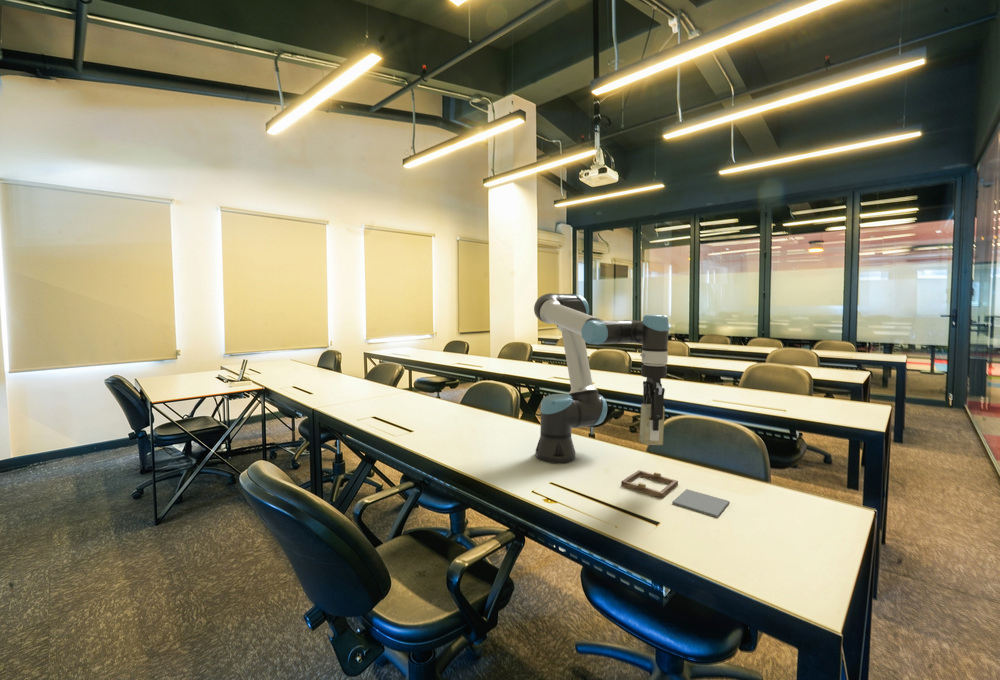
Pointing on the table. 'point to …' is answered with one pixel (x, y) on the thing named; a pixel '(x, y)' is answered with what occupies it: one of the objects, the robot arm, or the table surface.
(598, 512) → the table surface
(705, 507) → the mat
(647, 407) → the skincare box
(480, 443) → the table surface
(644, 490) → the collar
